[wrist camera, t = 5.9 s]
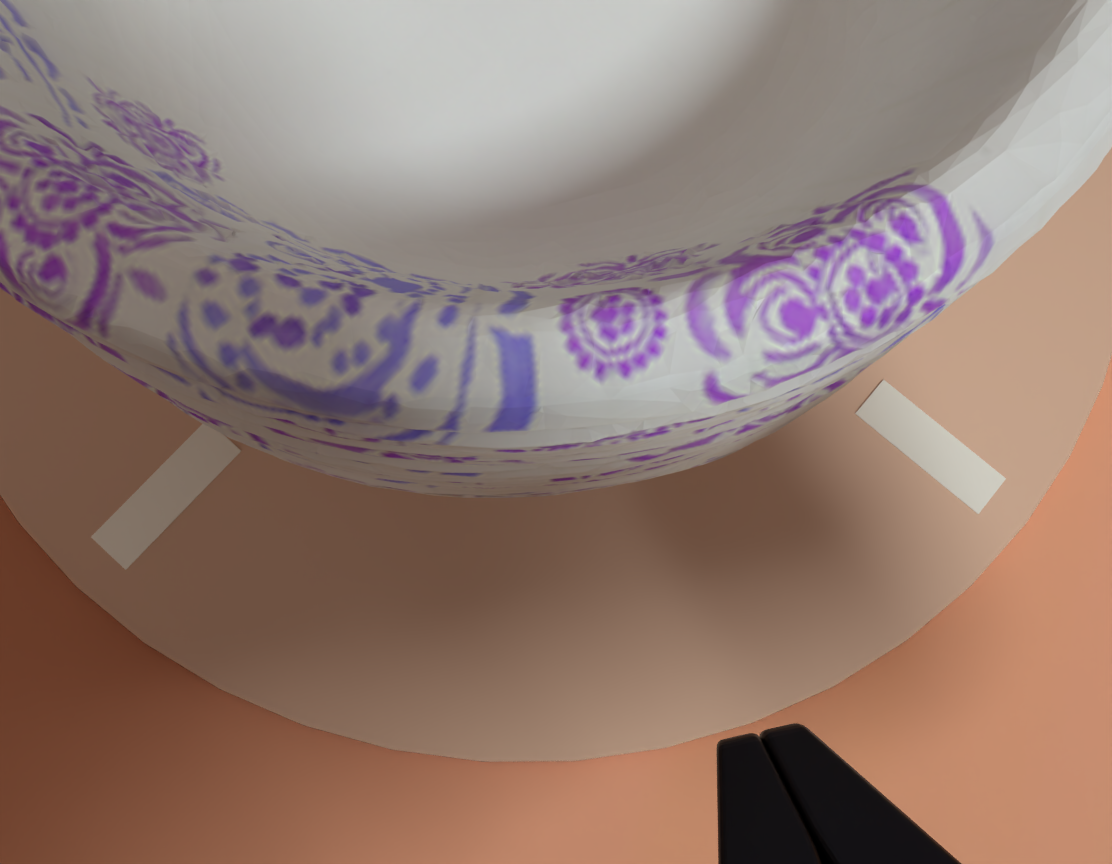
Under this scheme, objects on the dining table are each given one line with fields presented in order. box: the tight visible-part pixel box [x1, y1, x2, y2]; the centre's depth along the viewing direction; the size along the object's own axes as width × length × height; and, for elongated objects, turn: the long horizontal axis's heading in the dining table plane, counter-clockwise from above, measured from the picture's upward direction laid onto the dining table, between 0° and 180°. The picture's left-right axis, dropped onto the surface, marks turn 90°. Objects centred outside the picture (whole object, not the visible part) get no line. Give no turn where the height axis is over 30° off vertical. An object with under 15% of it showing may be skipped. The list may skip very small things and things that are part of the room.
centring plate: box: [0, 147, 1112, 762], centre depth 17 cm, size 22×22×1 cm
